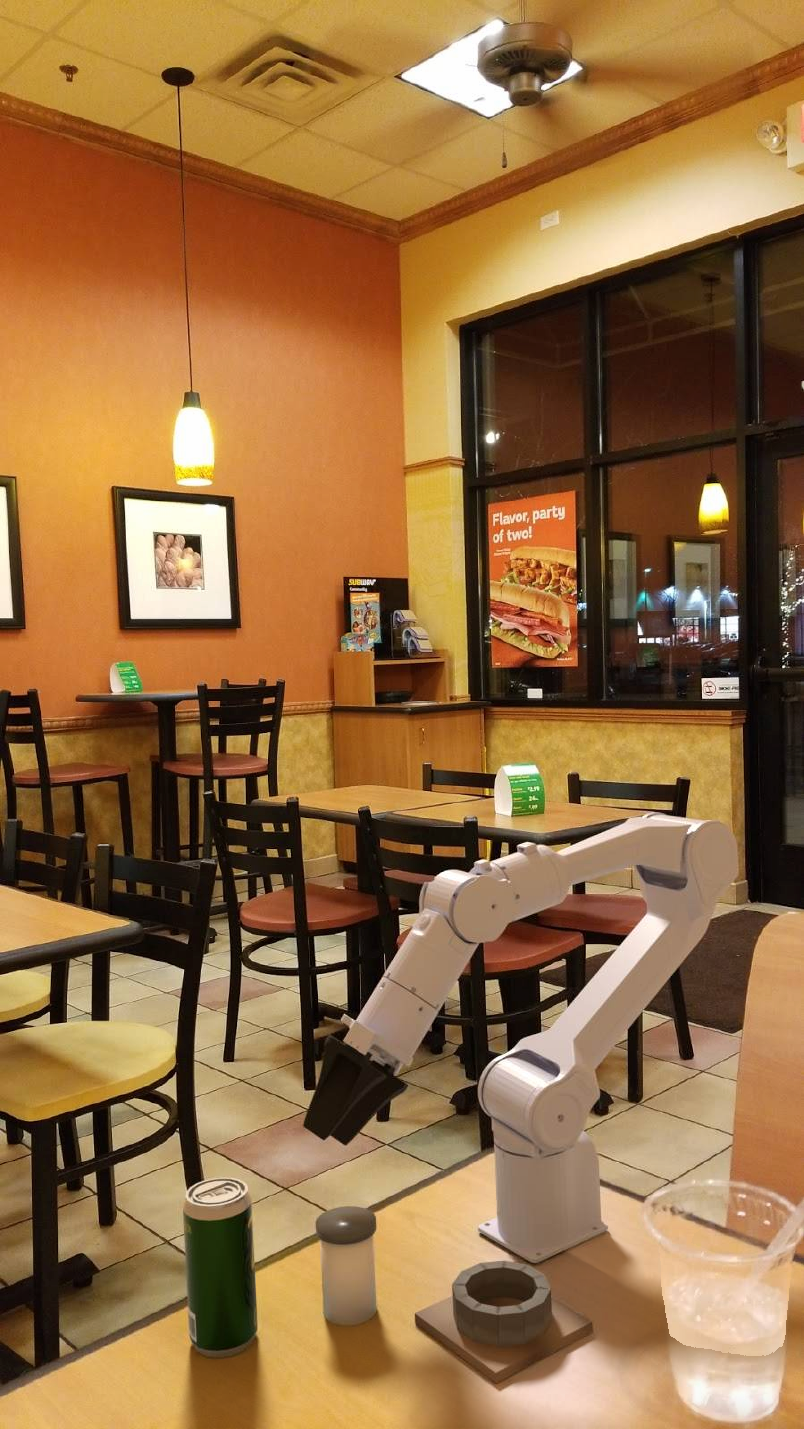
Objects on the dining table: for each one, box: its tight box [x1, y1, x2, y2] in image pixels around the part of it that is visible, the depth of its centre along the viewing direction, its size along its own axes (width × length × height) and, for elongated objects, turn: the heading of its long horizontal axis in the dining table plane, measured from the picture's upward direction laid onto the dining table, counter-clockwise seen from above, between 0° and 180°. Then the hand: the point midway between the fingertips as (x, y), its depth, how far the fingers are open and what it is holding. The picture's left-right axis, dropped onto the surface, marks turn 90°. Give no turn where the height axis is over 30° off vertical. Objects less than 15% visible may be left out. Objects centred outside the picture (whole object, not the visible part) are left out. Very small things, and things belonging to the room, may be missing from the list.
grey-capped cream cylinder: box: [315, 1205, 378, 1326], centre depth 92 cm, size 5×5×8 cm
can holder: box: [414, 1260, 594, 1384], centre depth 88 cm, size 10×10×3 cm
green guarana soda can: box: [182, 1177, 259, 1359], centre depth 88 cm, size 5×5×12 cm
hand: (325, 1136), depth 93 cm, fingers open, 7 cm apart
